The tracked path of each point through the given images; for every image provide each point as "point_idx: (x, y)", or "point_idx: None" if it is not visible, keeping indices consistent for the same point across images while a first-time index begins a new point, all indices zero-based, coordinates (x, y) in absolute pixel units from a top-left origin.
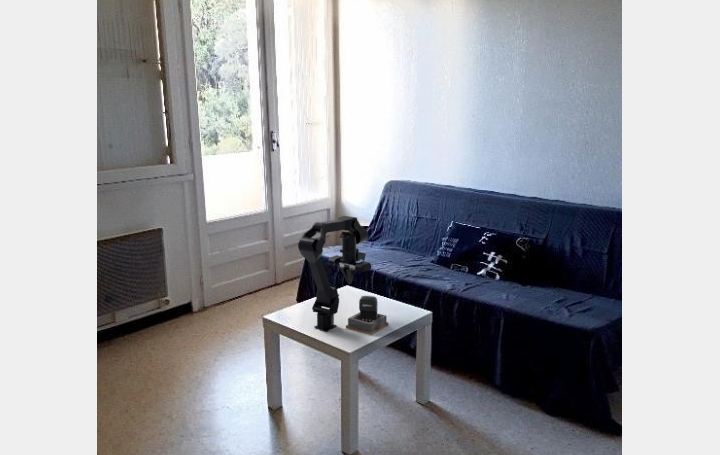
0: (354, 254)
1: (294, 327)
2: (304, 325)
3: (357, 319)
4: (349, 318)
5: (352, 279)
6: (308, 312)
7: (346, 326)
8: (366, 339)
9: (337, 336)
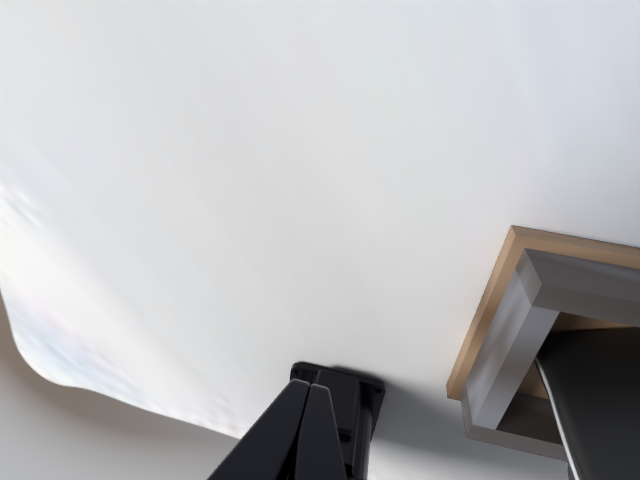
0: None
1: (206, 425)
2: (227, 402)
3: (543, 441)
4: (477, 437)
5: (342, 465)
6: (112, 262)
7: (451, 395)
8: None
9: (446, 462)
